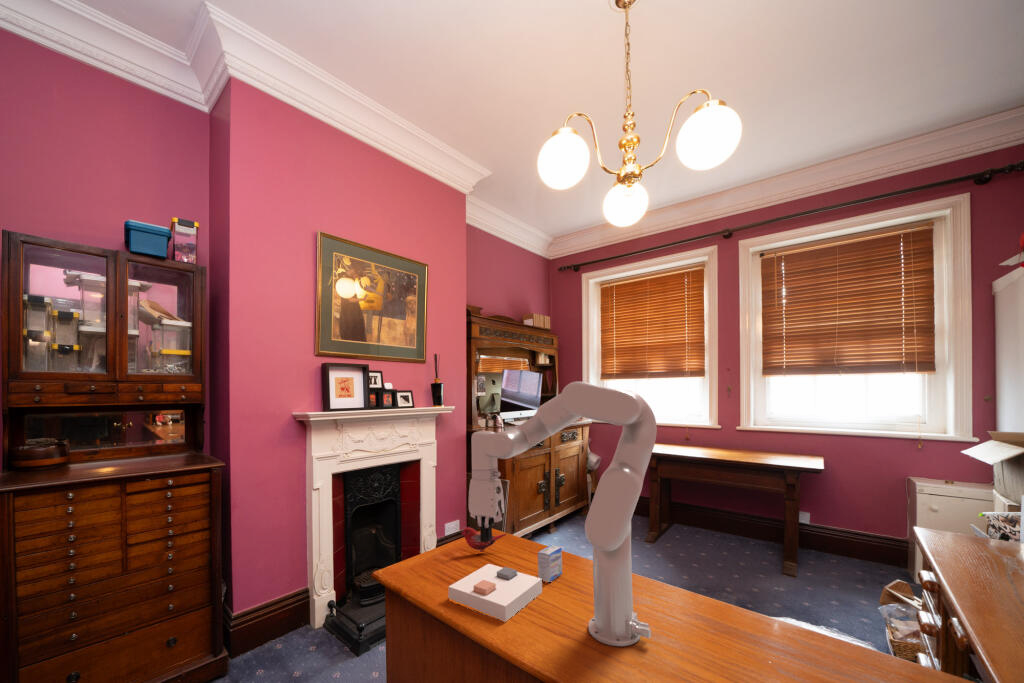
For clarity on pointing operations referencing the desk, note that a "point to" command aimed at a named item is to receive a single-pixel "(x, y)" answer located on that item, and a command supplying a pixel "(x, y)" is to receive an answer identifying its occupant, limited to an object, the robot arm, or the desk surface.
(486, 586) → the terracotta key
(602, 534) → the robot arm
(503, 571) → the grey key
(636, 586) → the desk surface
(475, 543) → the decorative bird figurine
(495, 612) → the key console
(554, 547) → the medicine box
